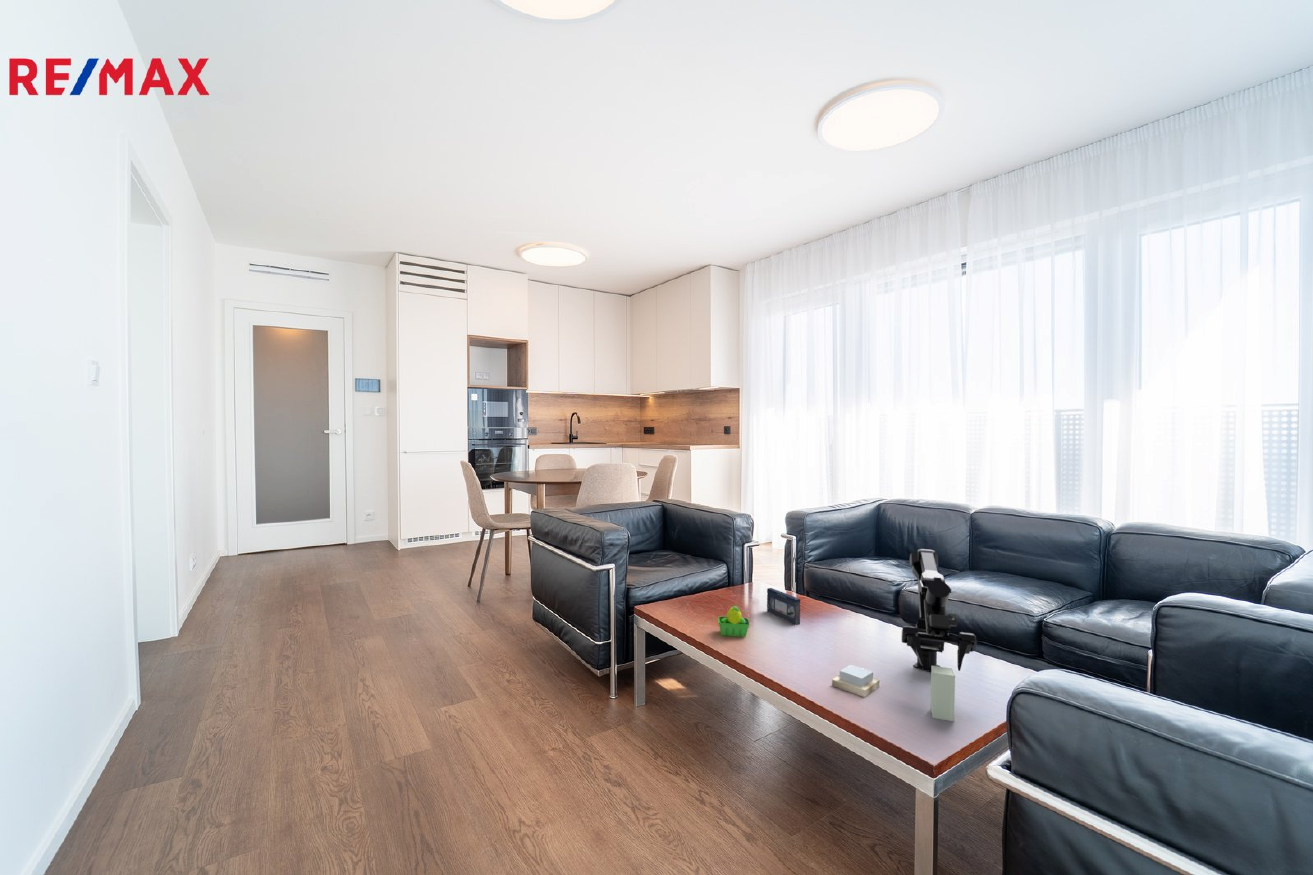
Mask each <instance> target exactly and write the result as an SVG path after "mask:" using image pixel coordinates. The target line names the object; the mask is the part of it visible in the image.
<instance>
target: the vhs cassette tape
mask: <svg viewBox="0 0 1313 875" xmlns="http://www.w3.org/2000/svg"><path fill="white" fill-rule="evenodd" d="M766 592H767V593H766V594H767V595H766V611H767V613H770V614H771V615H773V614H774V616H776V617H778V618H780V619H783V620H784V621H786V622H788V623H791V624H793V625H800V624H801V599H800V598H798V597H796V596H793V595H791V594H788V593H786V592H783V591H781V590H778V589H775V588H772V587H768V588H766Z"/></svg>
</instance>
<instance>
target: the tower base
mask: <svg viewBox="0 0 1313 875" xmlns="http://www.w3.org/2000/svg"><path fill="white" fill-rule="evenodd" d="M839 677H840V674H838V675H836V677H834V678H832V679H831V686H832V687H835V688H837V689H841V690H844V691H846V692H849V693H852V694H854V695H858V696H860V697H864V698H866V697H867V696H868V695H870V694H872V692H873V691H875V690H877V688H879V687H880V679H877V678H874V677H873V681H871V682H869V683H868V684H866V685H864V686H863V687H860V686H857V685H855V684H852V683H849V682H846V681H844V680H841V679H839Z"/></svg>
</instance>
